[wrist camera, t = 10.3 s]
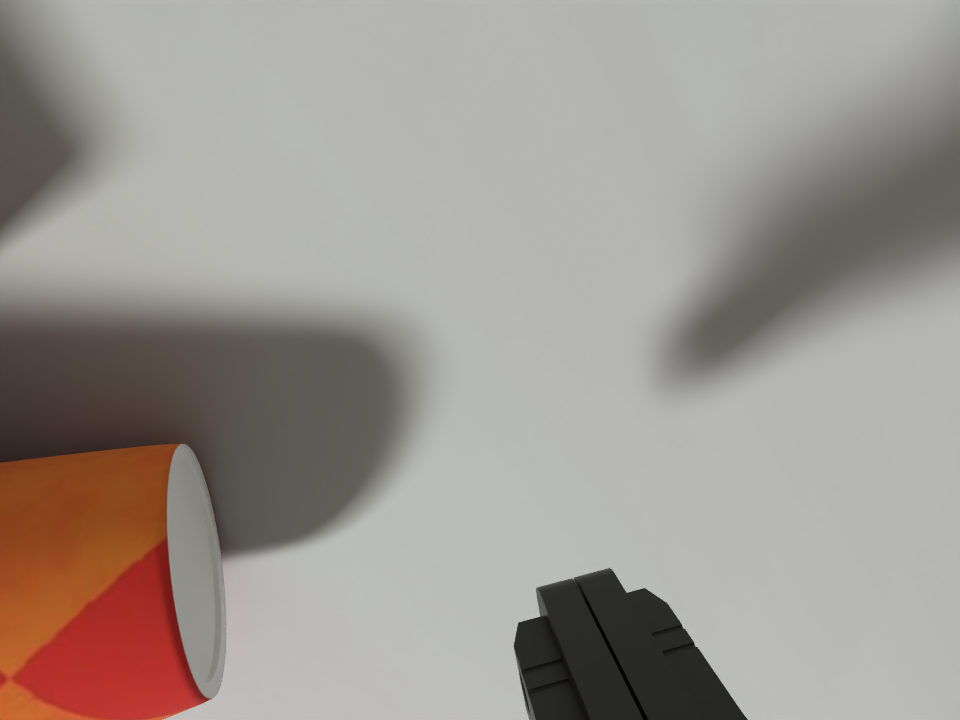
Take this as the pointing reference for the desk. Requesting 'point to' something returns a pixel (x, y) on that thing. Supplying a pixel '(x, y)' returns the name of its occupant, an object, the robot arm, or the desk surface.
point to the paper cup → (109, 586)
